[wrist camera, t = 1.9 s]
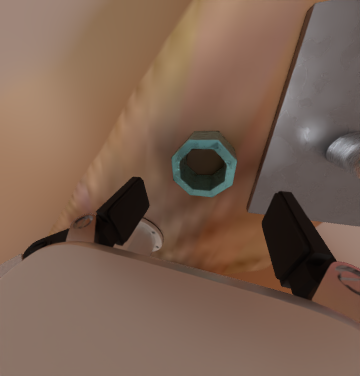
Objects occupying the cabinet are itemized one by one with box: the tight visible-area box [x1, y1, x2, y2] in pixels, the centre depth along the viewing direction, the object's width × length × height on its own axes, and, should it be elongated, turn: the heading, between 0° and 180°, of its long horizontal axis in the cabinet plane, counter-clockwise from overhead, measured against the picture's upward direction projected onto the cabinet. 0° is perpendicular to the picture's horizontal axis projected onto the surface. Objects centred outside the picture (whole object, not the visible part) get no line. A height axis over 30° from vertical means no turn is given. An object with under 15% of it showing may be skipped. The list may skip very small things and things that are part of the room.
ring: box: [171, 131, 237, 197], centre depth 17 cm, size 7×7×4 cm
